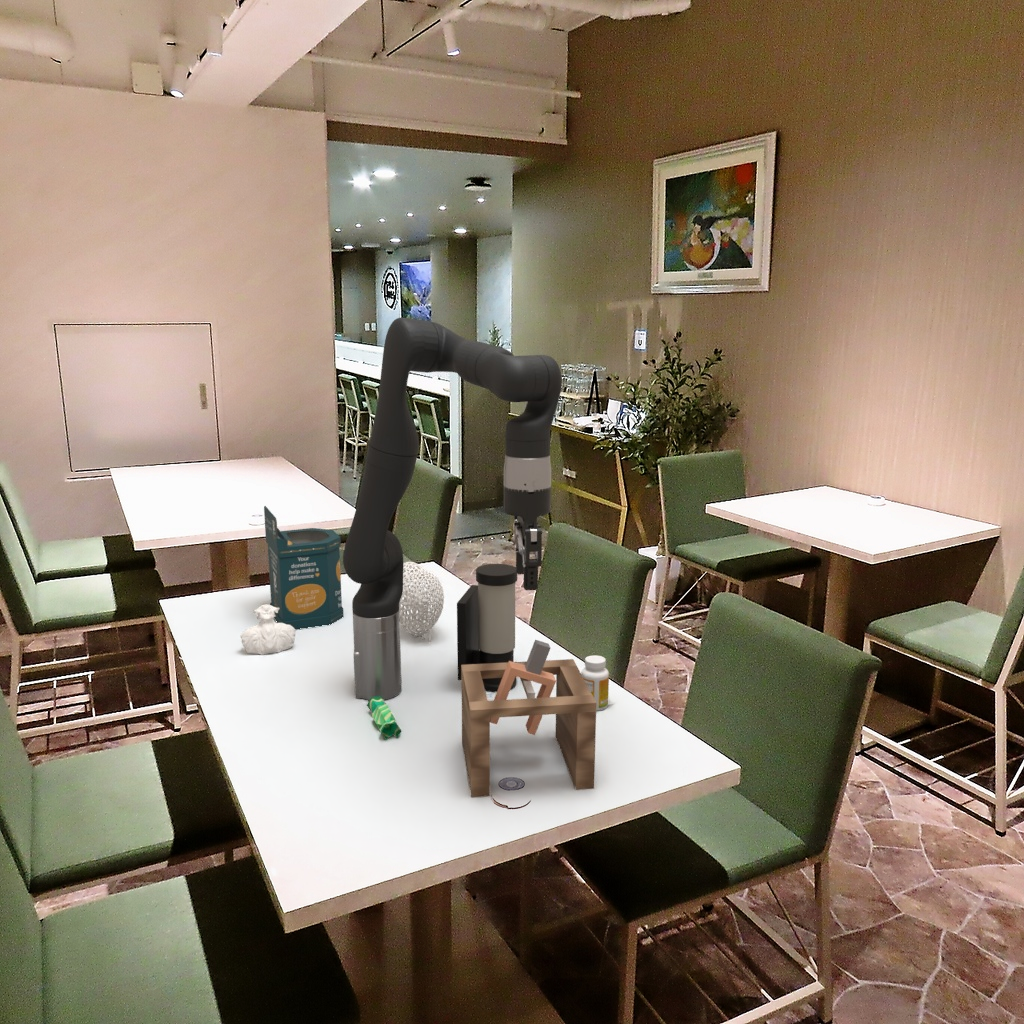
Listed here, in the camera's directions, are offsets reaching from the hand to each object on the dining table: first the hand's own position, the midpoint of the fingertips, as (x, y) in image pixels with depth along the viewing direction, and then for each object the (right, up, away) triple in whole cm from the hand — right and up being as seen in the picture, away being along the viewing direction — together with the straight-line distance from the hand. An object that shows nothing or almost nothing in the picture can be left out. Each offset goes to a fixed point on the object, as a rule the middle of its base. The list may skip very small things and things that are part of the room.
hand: (526, 581), depth 142 cm
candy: (-26, -29, +22) cm, 45 cm away
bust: (-58, -20, +58) cm, 84 cm away
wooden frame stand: (0, -32, +7) cm, 33 cm away
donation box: (-54, -15, +79) cm, 97 cm away
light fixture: (-7, -25, +40) cm, 47 cm away
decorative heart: (-25, -18, +66) cm, 73 cm away
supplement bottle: (+14, -27, +30) cm, 43 cm away
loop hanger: (-2, -25, +6) cm, 25 cm away
